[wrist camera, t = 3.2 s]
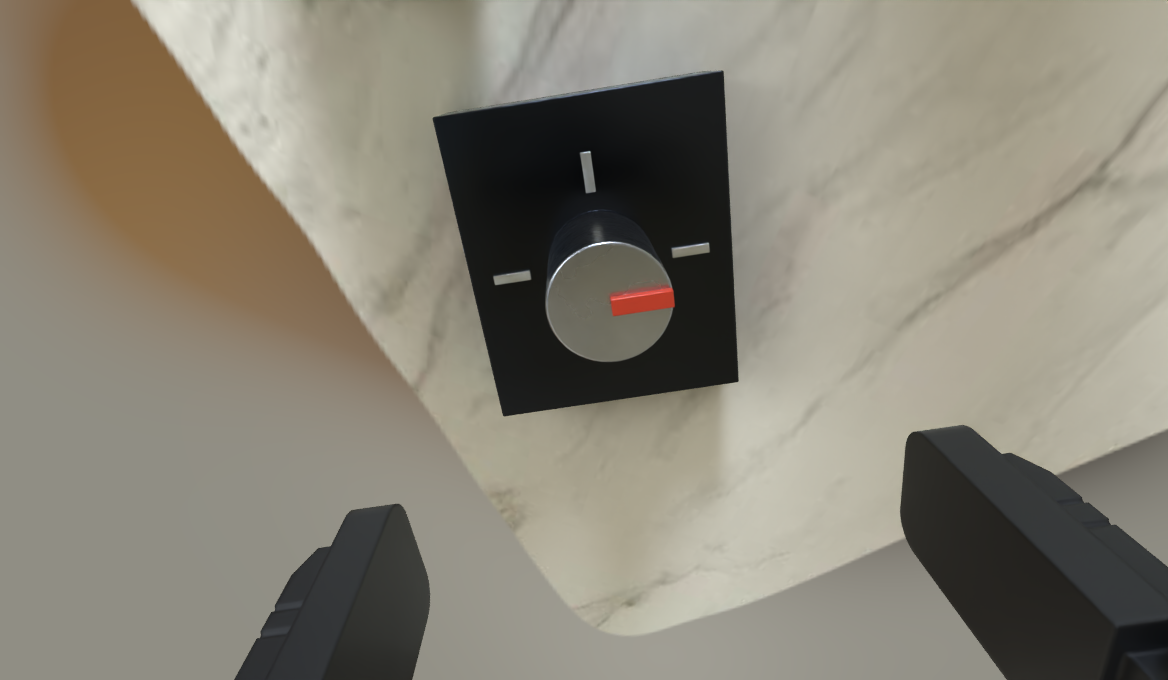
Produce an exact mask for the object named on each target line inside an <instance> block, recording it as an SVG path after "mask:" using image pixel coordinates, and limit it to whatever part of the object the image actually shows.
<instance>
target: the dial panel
mask: <svg viewBox="0 0 1168 680" xmlns="http://www.w3.org/2000/svg"><path fill="white" fill-rule="evenodd" d="M433 122H434V127H435V131H436V135H437V139H438V143H439V148H440V152H441V156H442V160H443V164H444V169H445V173H446V177H447V181H448V186H449V190H450V194H451V198H452V202H453V207H454V211H455V215H456V219H457V224H458V228H459V232H460V236H461V240H462V245H463V249H464V253H465V257H466V261H467V266H468V270H469V274H470V278H471V283H472V287H473V291H474V295H475V299H476V304H477V308H478V312H479V316H480V320H481V325H482V329H483V333H484V337H485V342H486V346H487V350H488V354H489V358H490V363H491V367H492V371H493V375H494V380H495V384H496V388H497V392H498V396H499V401H500V405H501V409H502V413H503V416H510V415H516V414H523V413H530V412H537V411H544V410H550V409H557V408H564V407H571V406H578V405H585V404H591V403H598V402H605V401H612V400H619V399H625V398H632V397H639V396H646V395H653V394H659V393H666V392H673V391H680V390H687V389H693V388H700V387H707V386H714V385H721V384H727V383H734V382H738V381H739V379H738V358H737V338H736V317H735V297H734V276H733V255H732V235H731V214H730V194H729V173H728V153H727V132H726V112H725V91H724V72H723V71H722V70H721V71H702V72H696V73H690V74H683V75H677V76H671V77H665V78H659V79H653V80H646V81H640V82H634V83H628V84H622V85H616V86H609V87H603V88H597V89H591V90H585V91H579V92H572V93H566V94H560V95H554V96H548V97H542V98H536V99H529V100H523V101H517V102H511V103H505V104H499V105H492V106H486V107H480V108H474V109H468V110H462V111H455V112H449V113H446V114H442V115H439V116H436V117H433ZM598 211H608V212H614V213H618V214H621V215H623V216H625V217H627V218H629V219H631V220H632V221H634V222H635V223H636V224H637V225H639V226H640V228H641V229H642V230H643V231H644V232H645V234H646V235H647V237H648V239H649V240H650V242H651V244H652V246H653V248H654V250H655V252H656V253H657V255H658V257H659V259H660V261H661V263H662V265H663V267H664V268H665V270H666V272H667V274H668V276H669V278H670V281H671V285H672V289H673V291H674V302H675V307H673V311H672V315H671V318H670V321H669V323H668V326H667V327H666V329H665V331H664V333H663V334H662V335H661V337H660V338H659V339H658V340H657V341H656V342H655V343H654V344H653V345H652V346H651V347H650V348H648V349H647V350H646V351H644V352H642V353H641V354H639V355H637V356H635V357H632V358H629V359H626V360H622V361H617V362H599V361H593V360H589V359H586V358H583V357H581V356H579V355H577V354H575V353H573V352H572V351H570V350H569V349H568V348H566V347H565V346H564V345H563V344H562V343H561V342H560V341H559V340H558V339H557V337H556V336H555V334H554V333H553V331H552V329H551V327H550V325H549V322H548V319H547V315H546V309H545V296H546V283H547V269H548V258H549V252H550V249H551V245H552V243H553V241H554V239H555V237H556V236H557V234H558V233H559V232H560V231H561V229H562V228H563V227H564V226H565V225H566V224H568V223H569V222H570V221H572V220H573V219H575V218H577V217H579V216H581V215H584V214H587V213H591V212H598Z"/></svg>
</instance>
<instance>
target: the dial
mask: <svg viewBox="0 0 1168 680" xmlns="http://www.w3.org/2000/svg"><path fill="white" fill-rule="evenodd" d="M673 307H675V302H674V291H673V289H672V285H671V281H670V278H669V276H668V274H667V272H666V270H665V268H664V267H663V265H662V263H661V261H660V259H659V257H658V255H657V253H656V252H655V250H654V248H653V246H652V244H651V242H650V240H649V239H648V237H647V235H646V234H645V232H644V231H643V230H642V229H641V228H640V226H639V225H637V224H636V223H635V222H634V221H632V220H631V219H629V218H627V217H625V216H623V215H621V214H618V213H614V212H608V211H598V212H591V213H587V214H584V215H581V216H579V217H577V218H575V219H573V220H572V221H570V222H569V223H568V224H566V225H565V226H564V227H563V228H562V229H561V231H560V232H559V233H558V234H557V236H556V237H555V239H554V241H553V243H552V245H551V249H550V252H549V258H548V269H547V283H546V296H545V309H546V315H547V319H548V322H549V325H550V327H551V329H552V331H553V333H554V334H555V336H556V337H557V339H558V340H559V341H560V342H561V343H562V344H563V345H564V346H565V347H566V348H568V349H569V350H570V351H572V352H573V353H575V354H577V355H579V356H581V357H583V358H586V359H589V360H593V361H599V362H617V361H622V360H626V359H629V358H632V357H635V356H637V355H639V354H641V353H642V352H644V351H646V350H647V349H648V348H650V347H651V346H652V345H653V344H654V343H655V342H656V341H657V340H658V339H659V338H660V337H661V335H662V334H663V333H664V331H665V329H666V327H667V326H668V323H669V321H670V318H671V315H672V311H673Z"/></svg>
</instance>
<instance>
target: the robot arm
mask: <svg viewBox="0 0 1168 680" xmlns="http://www.w3.org/2000/svg"><path fill="white" fill-rule="evenodd" d="M900 516H901V523H902V527H903V531H904V534H905V537H906V539H907V541H908V543H909V545H910V547H911V549H912V551H913V552H914V554H915V555H916V556H917V558H918V559H919V561H920V562H921V563H922V565H923V566H924V567H925V569H926V570H927V571H928V573H929V574H930V575H931V577H932V578H933V580H934V581H935V582H936V584H937V585H938V586H939V588H940V589H941V591H942V592H943V593H944V595H945V596H946V597H947V599H948V600H949V602H950V603H951V604H952V606H953V607H954V608H955V610H956V611H957V612H958V614H959V615H960V617H961V618H962V619H963V621H964V622H965V623H966V625H967V626H968V627H969V629H970V630H971V631H972V633H973V634H974V636H975V637H976V638H977V640H978V641H979V642H980V644H981V645H982V646H983V648H984V649H985V651H986V652H987V653H988V654H989V656H990V657H991V659H992V660H993V662H994V663H995V664H996V666H997V667H998V668H999V670H1000V671H1001V672H1002V674H1003V675H1004V676H1005V678H1006V679H1007V680H1168V567H1167V566H1166V565H1165V564H1163V563H1162V562H1161V561H1160V560H1159V559H1157V558H1156V557H1155V556H1153V555H1152V554H1151V553H1150V552H1149V551H1147V550H1146V549H1145V548H1144V547H1143V546H1141V545H1140V544H1139V543H1138V542H1136V541H1135V540H1134V539H1133V538H1131V537H1130V536H1129V535H1128V534H1126V533H1125V532H1124V531H1123V530H1122V529H1120V528H1119V527H1118V526H1117V525H1111V524H1110V523H1109V519H1108V518H1107V517H1106V516H1104V515H1103V514H1102V513H1100V512H1099V511H1098V510H1097V509H1096V508H1095V507H1093V506H1092V505H1091V504H1090V503H1084V502H1083V500H1082V497H1081V496H1080V495H1079V494H1077V493H1076V492H1075V491H1074V490H1072V489H1071V488H1070V487H1069V486H1067V485H1066V484H1065V483H1064V482H1063V481H1061V480H1060V479H1059V478H1058V477H1056V476H1055V475H1054V474H1053V473H1052V472H1050V471H1048V470H1046V469H1044V468H1041V467H1039V466H1037V465H1035V464H1033V463H1031V462H1029V461H1027V460H1025V459H1023V458H1021V457H1018V456H1016V455H1014V454H1012V453H1006V454H1001V453H1000V452H999V451H997V450H996V449H995V448H994V447H993V446H992V445H991V444H989V443H988V442H987V441H986V440H985V439H984V438H982V437H981V436H980V435H979V434H978V433H977V432H975V431H974V430H973V429H972V428H970V427H968V426H965V425H959V426H952V427H945V428H938V429H931V430H924V431H917V432H912V433H911V434H910V435H909V436H908V438H907V441H906V447H905V459H904V471H903V483H902V495H901V507H900ZM429 607H430V588H429V580H428V576H427V572H426V569H425V566H424V563H423V561H422V558H421V555H420V552H419V549H418V546H417V543H416V540H415V537H414V535H413V532H412V528H411V526H410V523H409V520H408V517H407V514H406V512H405V510H404V508H403V507H402V506H401V505H400V504H392V505H385V506H379V507H371V508H364V509H357V510H352V511H350V512H349V513H348V514H347V515H346V517H345V519H344V521H343V523H342V525H341V527H340V529H339V531H338V533H337V535H336V537H335V539H334V541H333V543H332V545H331V546H330V547H323V548H318V549H317V550H316V551H315V552H314V553H313V554H312V555H311V556H310V557H309V558H308V559H307V560H306V561H305V562H304V563H303V564H302V565H301V566H300V567H299V568H298V569H297V570H296V571H295V572H294V573H293V574H292V575H291V577H290V579H289V581H288V583H287V584H286V586H285V588H284V590H283V592H282V594H281V596H280V597H279V599H278V601H277V603H276V604H275V611H274V612H271V614H270V615H269V617H268V619H267V621H266V623H265V625H264V626H263V628H262V630H261V637H260V638H257V639H256V641H255V643H254V645H253V647H252V648H251V650H250V652H249V654H248V656H247V658H246V659H245V661H244V663H243V665H242V667H241V669H240V670H239V672H238V674H237V676H236V678H235V679H234V680H412V678H413V674H414V670H415V666H416V662H417V658H418V654H419V650H420V646H421V642H422V639H423V635H424V631H425V627H426V623H427V619H428V614H429Z"/></svg>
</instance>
